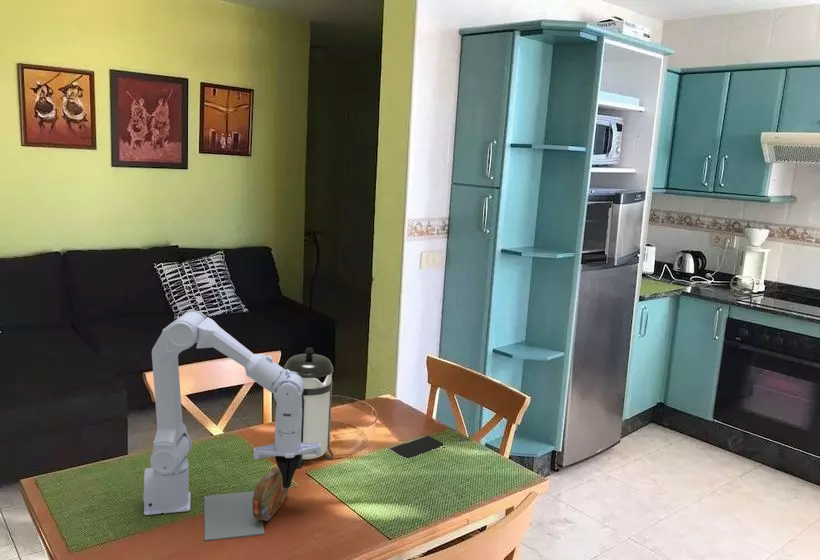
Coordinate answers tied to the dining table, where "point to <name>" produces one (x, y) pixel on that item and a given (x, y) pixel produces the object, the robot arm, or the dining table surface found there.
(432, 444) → the smartphone
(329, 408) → the coffee press
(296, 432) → the robot arm
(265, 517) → the tin
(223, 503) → the mat
